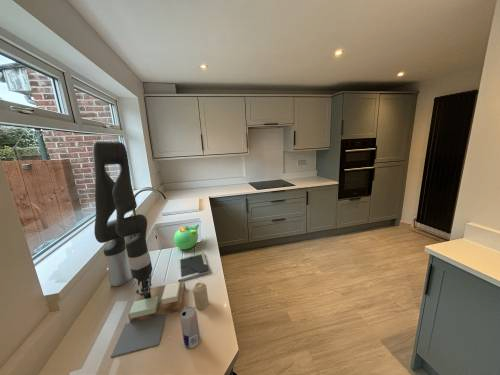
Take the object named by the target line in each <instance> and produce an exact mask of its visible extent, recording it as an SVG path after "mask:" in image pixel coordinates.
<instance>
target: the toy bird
mask: <svg viewBox="0 0 500 375" xmlns="http://www.w3.org/2000/svg"><path fill="white" fill-rule="evenodd" d="M199 227H200V225H199V224H197V223H196V225H194V226H193V227H192V226H179V228H178V229H177V230H176V231H175V233H174V236H173V243H174V245H175V246H176V247H177V248H178V249H180V250H189V249H191V248H193V247H195V246H196V244H197V242H198V241H199V240H198V239H199V233H198V228H199Z"/></svg>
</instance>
